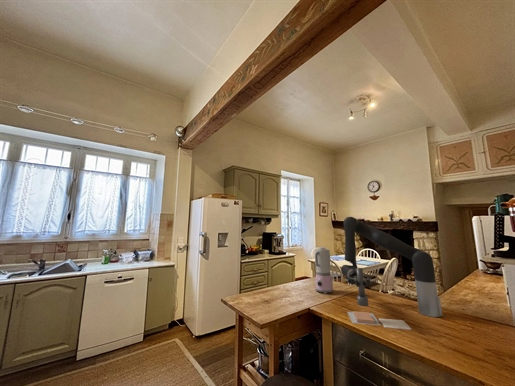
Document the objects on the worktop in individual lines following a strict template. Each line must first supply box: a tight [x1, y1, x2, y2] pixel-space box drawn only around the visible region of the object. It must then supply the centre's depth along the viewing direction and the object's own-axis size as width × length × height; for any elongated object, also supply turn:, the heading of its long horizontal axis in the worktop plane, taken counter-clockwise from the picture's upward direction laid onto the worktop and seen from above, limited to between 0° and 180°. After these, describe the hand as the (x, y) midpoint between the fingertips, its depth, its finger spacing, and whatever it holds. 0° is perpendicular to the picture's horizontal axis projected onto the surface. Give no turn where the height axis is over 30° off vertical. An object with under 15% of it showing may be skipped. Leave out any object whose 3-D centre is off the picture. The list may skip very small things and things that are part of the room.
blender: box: [314, 246, 334, 295], centre depth 156 cm, size 16×12×32 cm
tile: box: [352, 310, 375, 325], centre depth 108 cm, size 8×2×10 cm
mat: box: [347, 311, 381, 326], centre depth 109 cm, size 13×14×1 cm
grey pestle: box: [356, 267, 369, 307], centre depth 109 cm, size 5×5×18 cm
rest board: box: [378, 318, 412, 331], centre depth 101 cm, size 11×9×1 cm
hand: (362, 284), depth 107 cm, fingers closed on grey pestle, 3 cm apart
